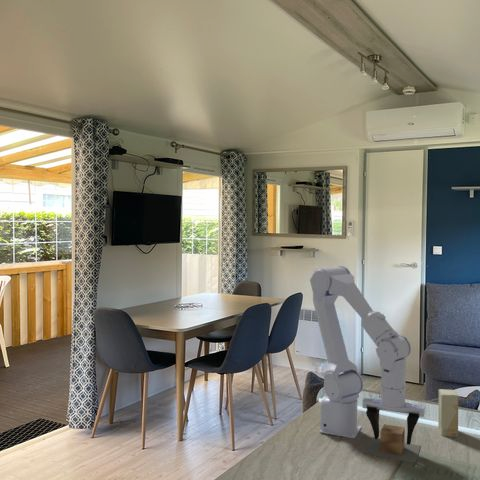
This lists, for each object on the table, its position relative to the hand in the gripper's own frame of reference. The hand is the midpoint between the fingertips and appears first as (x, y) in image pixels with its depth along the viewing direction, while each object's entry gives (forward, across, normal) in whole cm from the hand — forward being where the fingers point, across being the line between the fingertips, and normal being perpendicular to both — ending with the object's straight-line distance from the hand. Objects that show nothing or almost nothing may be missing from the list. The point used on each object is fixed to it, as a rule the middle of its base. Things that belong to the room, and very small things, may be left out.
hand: (392, 440), depth 133 cm
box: (+3, -12, -17) cm, 21 cm away
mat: (+3, 0, 0) cm, 3 cm away
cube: (+2, 0, 0) cm, 2 cm away
